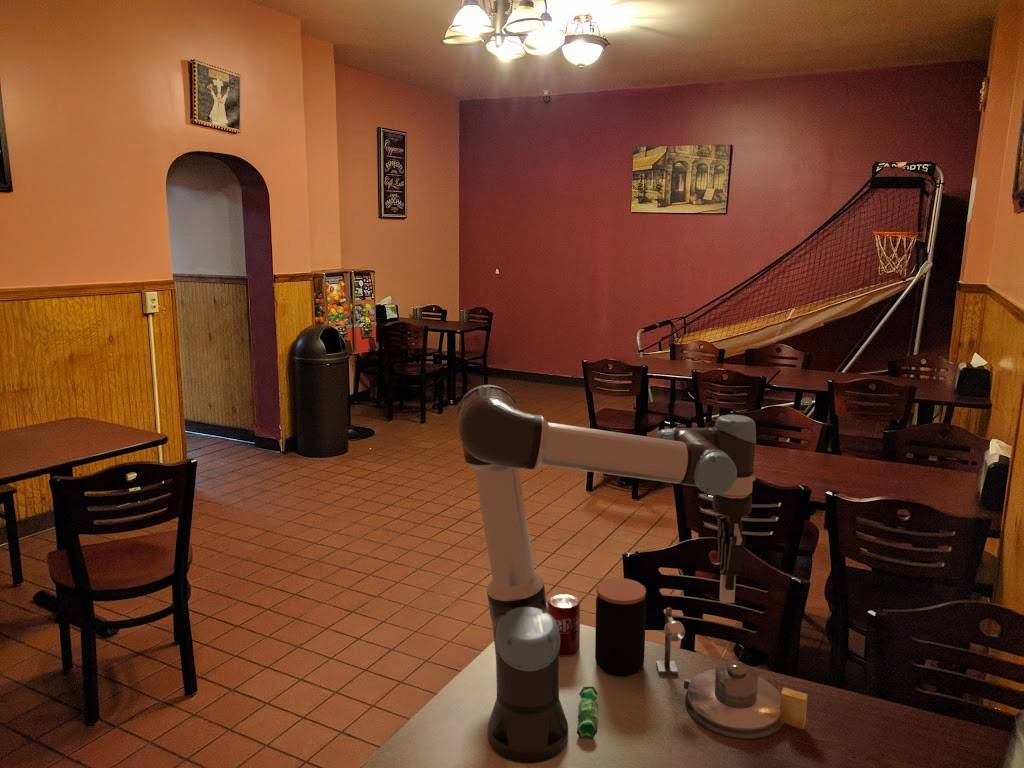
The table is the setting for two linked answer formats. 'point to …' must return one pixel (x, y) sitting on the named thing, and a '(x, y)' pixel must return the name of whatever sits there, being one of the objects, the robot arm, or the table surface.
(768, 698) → the turntable
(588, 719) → the candy
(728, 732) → the turntable base
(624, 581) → the coffee jar
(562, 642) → the soda can
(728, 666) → the cover
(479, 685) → the table surface
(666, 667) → the dial stand
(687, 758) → the table surface
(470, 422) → the robot arm
